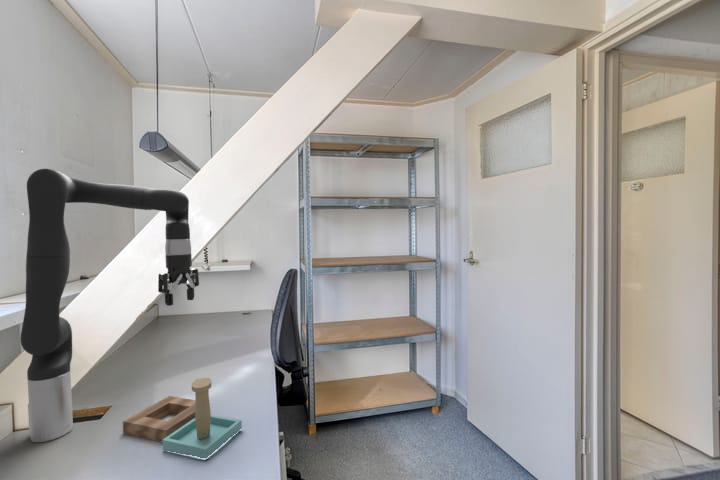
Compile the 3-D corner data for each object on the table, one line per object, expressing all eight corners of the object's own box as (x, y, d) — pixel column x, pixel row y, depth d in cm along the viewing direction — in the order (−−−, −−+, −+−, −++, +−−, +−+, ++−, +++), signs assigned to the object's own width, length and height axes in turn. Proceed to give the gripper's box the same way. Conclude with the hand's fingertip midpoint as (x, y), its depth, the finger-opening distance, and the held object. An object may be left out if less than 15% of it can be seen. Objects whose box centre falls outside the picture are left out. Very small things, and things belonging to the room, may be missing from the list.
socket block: (123, 433, 101) (122, 421, 101) (169, 406, 116) (169, 395, 116) (166, 443, 96) (166, 430, 96) (209, 413, 111) (208, 402, 111)
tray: (162, 450, 92) (162, 439, 92) (202, 422, 106) (202, 412, 106) (206, 461, 88) (205, 449, 88) (241, 430, 101) (241, 420, 101)
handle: (213, 428, 101) (211, 376, 100) (212, 441, 95) (210, 385, 94) (194, 432, 99) (192, 379, 98) (192, 445, 93) (190, 389, 92)
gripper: (186, 251, 123) (188, 297, 124) (150, 254, 110) (152, 306, 110) (203, 251, 121) (205, 298, 121) (169, 254, 107) (171, 307, 108)
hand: (180, 302), depth 116 cm, fingers open, 8 cm apart
